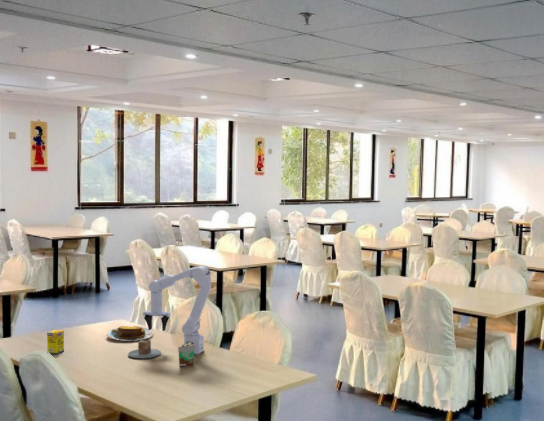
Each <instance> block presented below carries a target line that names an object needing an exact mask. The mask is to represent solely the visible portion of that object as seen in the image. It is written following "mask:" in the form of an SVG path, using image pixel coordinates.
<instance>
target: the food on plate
mask: <svg viewBox="0 0 544 421" xmlns="http://www.w3.org/2000/svg"><path fill="white" fill-rule="evenodd" d="M153 335H154V330H153V329H151V330H149V328H147V327H144V326H139V325H138V326H135V325H134V326H128V325H127V326H124V325H123V326H122V325H121V326H119V327H116V328H112V329H110V330H108V332H107V333H106V337H108V339H109V340H116V341H117V340H118V341H122V342H123V341H124V342H134V341H141V340H147V339H148V338H151V337H152V336H153ZM145 336H146V337H145Z"/></svg>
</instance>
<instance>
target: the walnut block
mask: <svg viewBox="0 0 544 421" xmlns="http://www.w3.org/2000/svg"><path fill="white" fill-rule="evenodd" d="M151 342H152V340H150V339H141V340H138V342H137V346H138V348H137V349H138V354H146V355H147V354H148V353H150V352H151V349H152V343H151Z"/></svg>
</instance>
